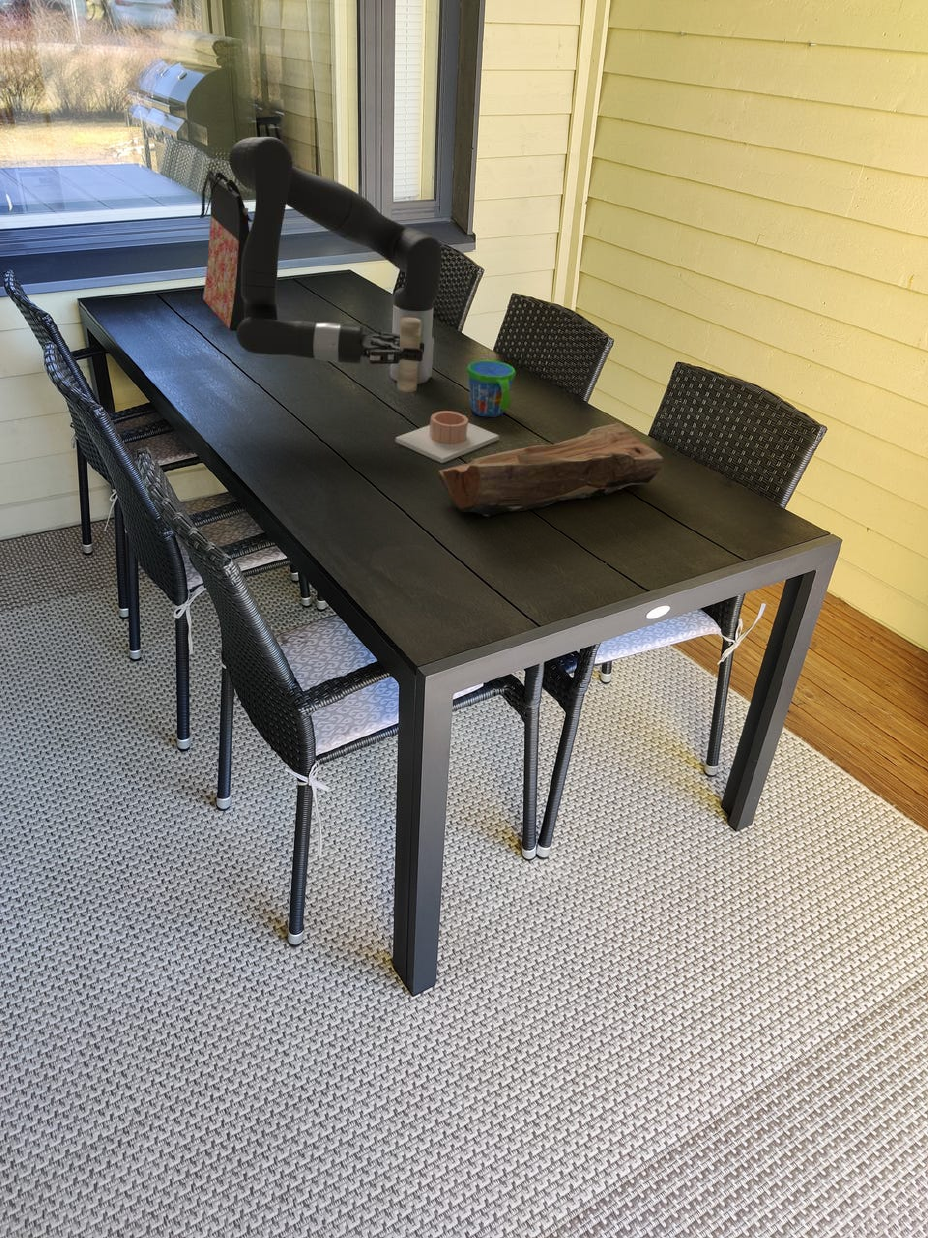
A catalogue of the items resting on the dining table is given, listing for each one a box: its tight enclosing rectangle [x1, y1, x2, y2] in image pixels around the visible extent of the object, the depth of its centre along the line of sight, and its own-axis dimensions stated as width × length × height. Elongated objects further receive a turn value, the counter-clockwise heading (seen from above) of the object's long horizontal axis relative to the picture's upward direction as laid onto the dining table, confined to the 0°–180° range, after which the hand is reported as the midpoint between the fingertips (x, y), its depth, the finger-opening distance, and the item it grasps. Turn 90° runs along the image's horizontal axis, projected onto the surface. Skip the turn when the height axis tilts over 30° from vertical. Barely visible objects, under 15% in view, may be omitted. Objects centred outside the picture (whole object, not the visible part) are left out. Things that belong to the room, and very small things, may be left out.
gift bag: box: [199, 170, 253, 330], centre depth 251 cm, size 29×14×35 cm, turn 27°
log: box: [437, 422, 664, 517], centre depth 186 cm, size 42×18×15 cm, turn 118°
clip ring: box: [429, 410, 469, 444], centre depth 204 cm, size 8×8×4 cm
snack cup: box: [466, 359, 517, 418], centre depth 218 cm, size 16×10×10 cm
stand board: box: [395, 422, 500, 464], centre depth 206 cm, size 18×13×1 cm
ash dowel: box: [396, 318, 421, 393], centre depth 199 cm, size 4×4×14 cm
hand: (423, 351), depth 198 cm, fingers closed on ash dowel, 4 cm apart
